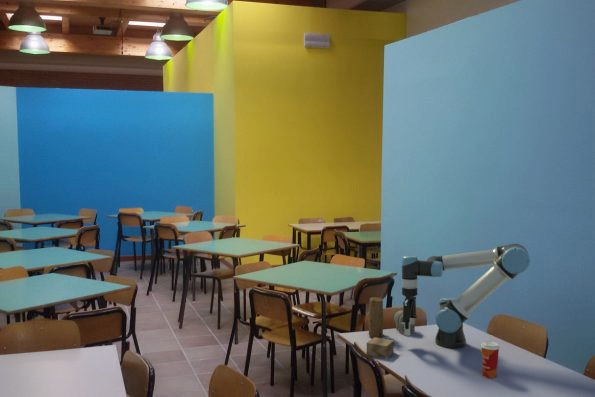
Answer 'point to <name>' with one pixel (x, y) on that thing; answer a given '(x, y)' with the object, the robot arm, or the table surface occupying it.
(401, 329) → the dice cube
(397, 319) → the cream beehive honey pot
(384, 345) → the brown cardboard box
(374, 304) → the brown oblong lump
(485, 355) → the paper cup
